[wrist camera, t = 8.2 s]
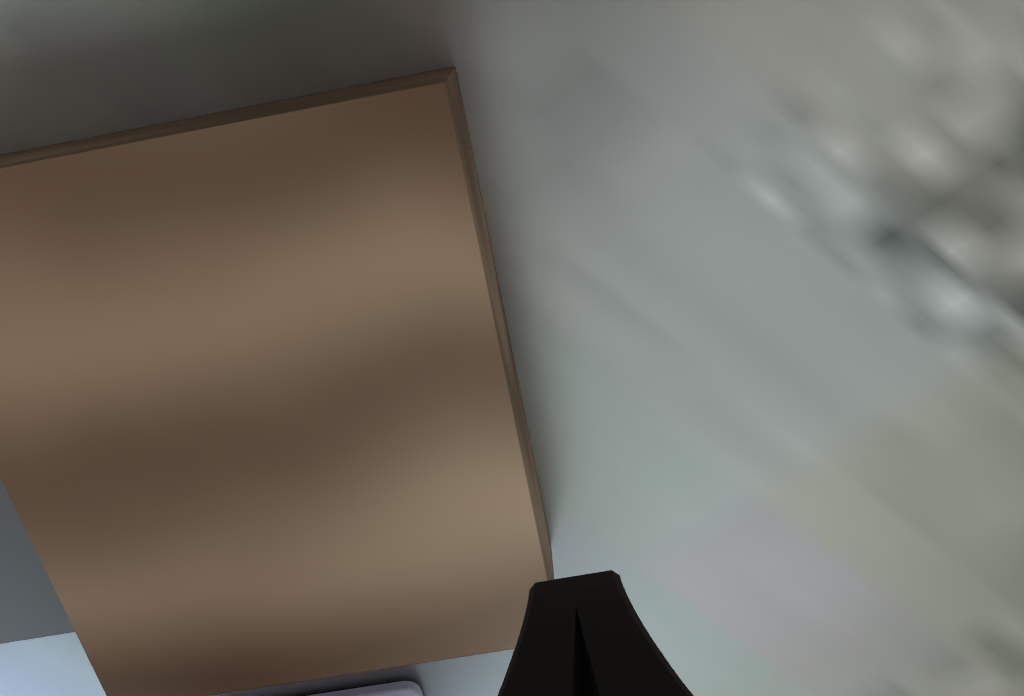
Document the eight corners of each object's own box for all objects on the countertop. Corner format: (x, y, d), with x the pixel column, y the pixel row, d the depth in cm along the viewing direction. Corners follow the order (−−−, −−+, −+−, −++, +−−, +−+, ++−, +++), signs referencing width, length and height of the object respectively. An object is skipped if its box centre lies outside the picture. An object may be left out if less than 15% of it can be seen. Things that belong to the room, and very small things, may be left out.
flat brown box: (551, 547, 25) (560, 641, 21) (168, 608, 26) (113, 709, 22) (455, 66, 20) (445, 81, 16) (-24, 159, 20) (-139, 195, 17)
